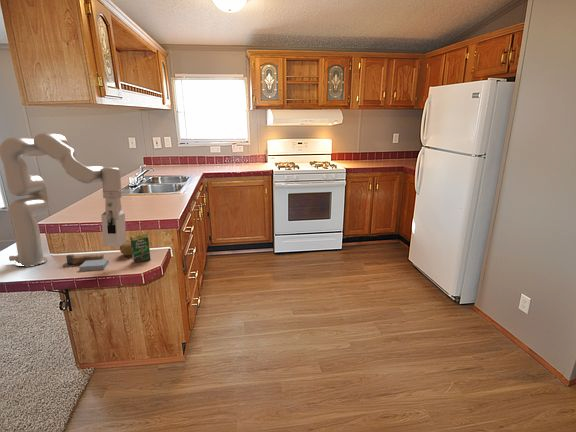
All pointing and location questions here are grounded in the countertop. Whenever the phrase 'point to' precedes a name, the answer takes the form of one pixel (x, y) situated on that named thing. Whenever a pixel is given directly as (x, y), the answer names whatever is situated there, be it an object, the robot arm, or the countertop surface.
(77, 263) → the hinge plate
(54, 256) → the countertop surface
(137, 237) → the coffee box
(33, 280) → the countertop surface
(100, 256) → the leg
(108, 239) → the milk carton
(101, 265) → the seat board
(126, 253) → the potato
